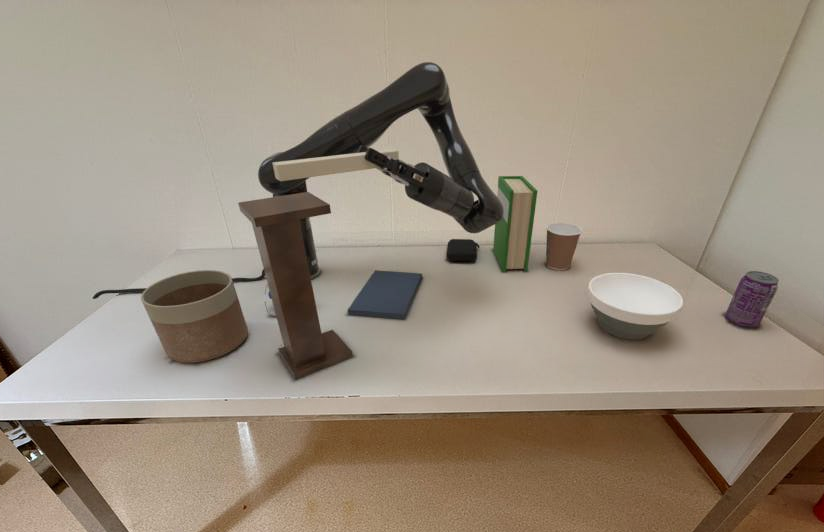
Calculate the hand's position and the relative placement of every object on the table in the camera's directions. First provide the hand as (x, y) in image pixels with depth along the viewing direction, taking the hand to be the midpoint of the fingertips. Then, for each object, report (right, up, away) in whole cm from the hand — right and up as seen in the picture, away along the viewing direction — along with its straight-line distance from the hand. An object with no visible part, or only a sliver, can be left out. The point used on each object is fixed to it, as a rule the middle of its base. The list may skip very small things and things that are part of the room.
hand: (363, 151), depth 69 cm
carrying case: (+20, -10, +59) cm, 63 cm away
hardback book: (+35, -12, +55) cm, 66 cm away
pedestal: (-13, -38, +12) cm, 42 cm away
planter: (-37, -35, +16) cm, 54 cm away
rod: (-4, -4, -1) cm, 5 cm away
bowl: (+57, -32, +23) cm, 69 cm away
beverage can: (+86, -31, +25) cm, 95 cm away
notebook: (-1, -24, +35) cm, 42 cm away
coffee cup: (+49, -14, +52) cm, 73 cm away
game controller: (-24, -28, +28) cm, 47 cm away
